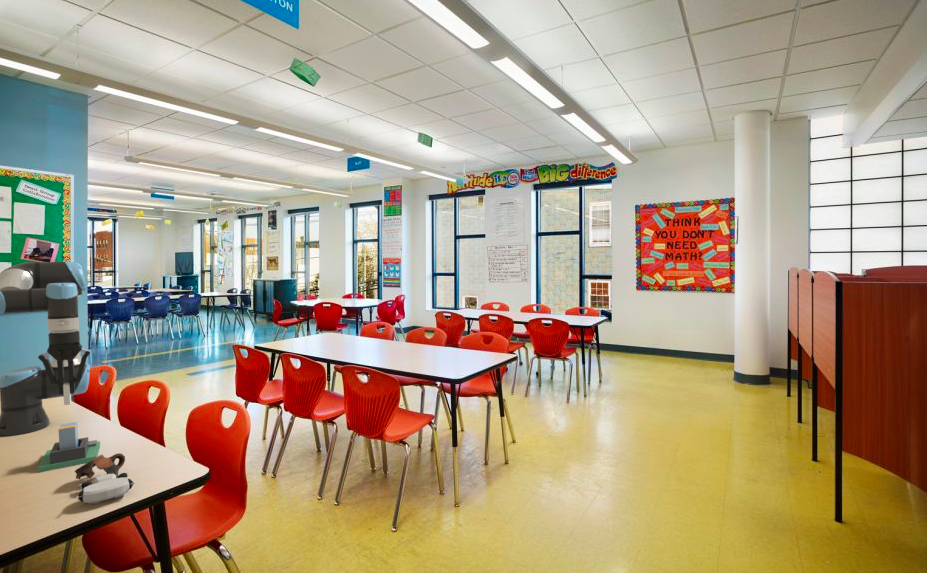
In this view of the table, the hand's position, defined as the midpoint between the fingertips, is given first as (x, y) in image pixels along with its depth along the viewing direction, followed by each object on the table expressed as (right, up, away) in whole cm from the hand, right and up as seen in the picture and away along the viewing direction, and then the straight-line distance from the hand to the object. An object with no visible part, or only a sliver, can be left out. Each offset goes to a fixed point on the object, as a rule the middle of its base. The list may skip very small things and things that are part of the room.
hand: (67, 403), depth 150 cm
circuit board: (-1, -18, +2) cm, 18 cm away
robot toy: (+30, -20, -23) cm, 42 cm away
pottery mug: (+21, -19, -13) cm, 32 cm away
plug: (0, -17, 0) cm, 17 cm away
